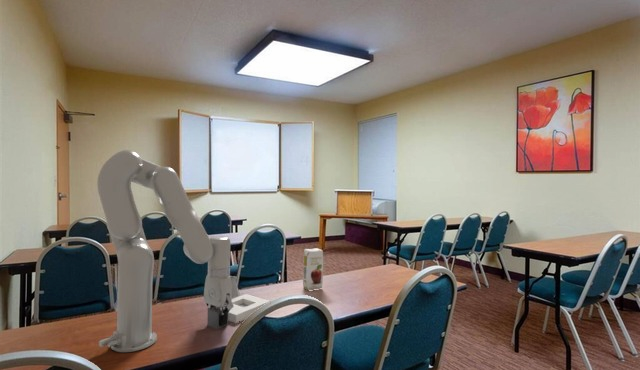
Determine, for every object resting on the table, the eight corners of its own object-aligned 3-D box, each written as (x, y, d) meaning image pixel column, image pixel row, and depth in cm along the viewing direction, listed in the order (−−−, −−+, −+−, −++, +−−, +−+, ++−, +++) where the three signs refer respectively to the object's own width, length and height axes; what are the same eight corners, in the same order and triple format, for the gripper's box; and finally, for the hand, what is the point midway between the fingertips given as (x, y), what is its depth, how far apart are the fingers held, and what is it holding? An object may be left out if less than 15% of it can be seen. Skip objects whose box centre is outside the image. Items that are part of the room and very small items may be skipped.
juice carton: (301, 287, 164) (302, 248, 164) (316, 285, 168) (317, 247, 168) (308, 292, 158) (309, 251, 158) (324, 289, 162) (325, 250, 162)
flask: (220, 301, 144) (220, 277, 143) (231, 296, 150) (232, 274, 150) (233, 304, 140) (233, 280, 140) (244, 299, 147) (245, 276, 146)
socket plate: (236, 323, 122) (236, 313, 122) (211, 313, 130) (211, 304, 130) (270, 308, 137) (270, 299, 137) (245, 300, 145) (246, 292, 145)
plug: (216, 329, 117) (217, 306, 117) (207, 325, 119) (207, 303, 119) (228, 324, 121) (228, 302, 121) (218, 321, 124) (219, 299, 124)
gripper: (194, 270, 122) (193, 320, 122) (226, 278, 112) (225, 333, 112) (212, 266, 128) (211, 313, 128) (243, 273, 118) (242, 325, 118)
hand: (217, 322), depth 120 cm, fingers closed on plug, 5 cm apart
